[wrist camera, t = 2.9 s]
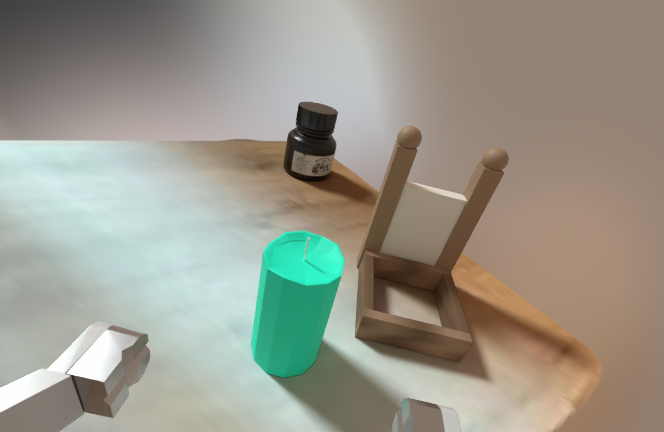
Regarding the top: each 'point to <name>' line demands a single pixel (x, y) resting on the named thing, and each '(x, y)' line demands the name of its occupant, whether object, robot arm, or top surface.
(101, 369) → the robot arm
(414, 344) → the shallow open wooden box
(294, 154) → the ink bottle
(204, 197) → the top surface
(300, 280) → the candle
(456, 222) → the headboard
